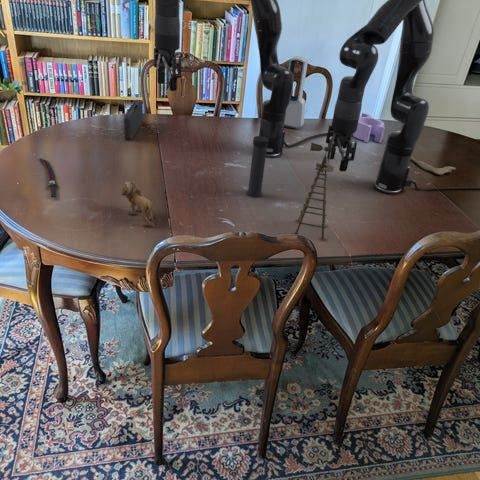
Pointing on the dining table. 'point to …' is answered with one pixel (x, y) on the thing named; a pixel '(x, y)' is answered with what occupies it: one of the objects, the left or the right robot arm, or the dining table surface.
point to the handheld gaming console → (133, 119)
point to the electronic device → (297, 104)
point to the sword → (52, 181)
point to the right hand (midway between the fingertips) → (336, 164)
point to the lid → (260, 141)
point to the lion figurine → (137, 201)
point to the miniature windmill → (320, 169)
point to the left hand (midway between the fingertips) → (166, 86)
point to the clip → (369, 128)
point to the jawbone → (432, 169)
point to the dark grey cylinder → (257, 171)
